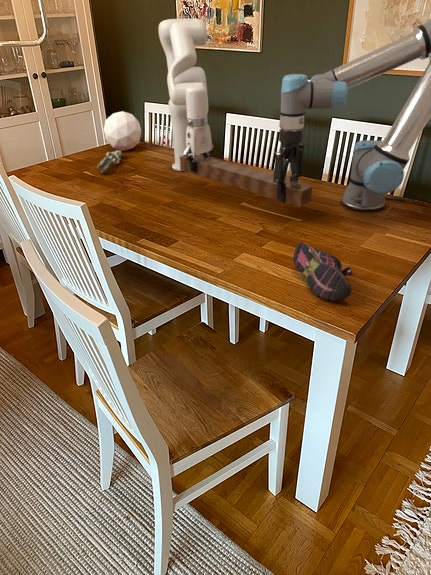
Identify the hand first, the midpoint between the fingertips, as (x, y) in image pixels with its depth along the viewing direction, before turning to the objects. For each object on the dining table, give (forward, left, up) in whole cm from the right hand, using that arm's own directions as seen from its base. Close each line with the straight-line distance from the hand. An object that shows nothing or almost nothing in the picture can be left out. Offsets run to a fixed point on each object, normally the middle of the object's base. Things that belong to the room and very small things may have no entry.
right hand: (286, 198), depth 152 cm
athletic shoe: (+8, +43, -8) cm, 44 cm away
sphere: (+41, -114, -8) cm, 121 cm away
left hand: (+21, -36, +2) cm, 42 cm away
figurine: (+51, -88, -8) cm, 102 cm away
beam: (+10, -18, 0) cm, 21 cm away
